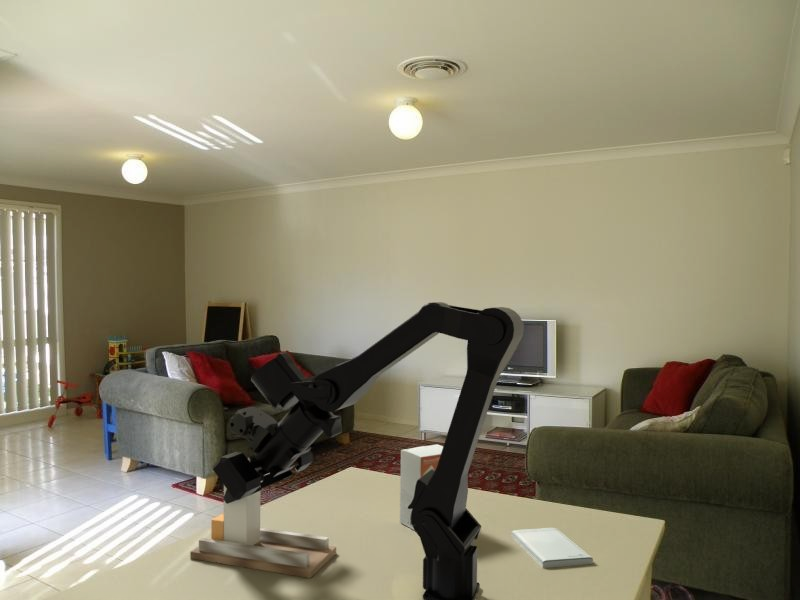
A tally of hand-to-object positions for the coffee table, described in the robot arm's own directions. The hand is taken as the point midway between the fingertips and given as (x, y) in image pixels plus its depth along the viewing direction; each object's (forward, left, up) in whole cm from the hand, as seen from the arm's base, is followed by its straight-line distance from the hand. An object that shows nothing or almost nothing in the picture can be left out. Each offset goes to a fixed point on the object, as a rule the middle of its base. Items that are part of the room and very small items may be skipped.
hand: (234, 496), depth 98 cm
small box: (-25, -21, -9) cm, 34 cm away
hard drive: (-47, -17, -9) cm, 50 cm away
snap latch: (+2, 0, -7) cm, 7 cm away
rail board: (-5, 0, -8) cm, 10 cm away
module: (-1, 0, -7) cm, 7 cm away
